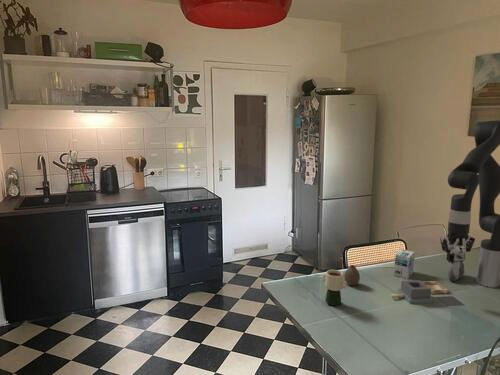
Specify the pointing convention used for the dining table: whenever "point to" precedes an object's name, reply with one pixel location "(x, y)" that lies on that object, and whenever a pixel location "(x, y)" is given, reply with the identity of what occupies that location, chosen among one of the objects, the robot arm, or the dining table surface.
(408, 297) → the block
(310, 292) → the dining table surface
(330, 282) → the character mug
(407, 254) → the light bulb box
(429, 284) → the tray
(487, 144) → the robot arm
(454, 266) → the grey tabbed block
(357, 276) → the vase
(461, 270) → the perforated stone tool
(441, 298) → the mat
